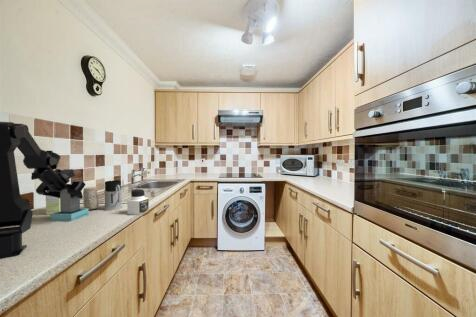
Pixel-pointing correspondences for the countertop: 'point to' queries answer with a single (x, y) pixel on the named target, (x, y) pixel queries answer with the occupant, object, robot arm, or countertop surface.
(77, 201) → the tall grey square pillar
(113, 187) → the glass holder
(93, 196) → the carving
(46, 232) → the countertop surface
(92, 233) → the countertop surface
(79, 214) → the teal tray
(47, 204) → the box
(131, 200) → the medicine bottle
